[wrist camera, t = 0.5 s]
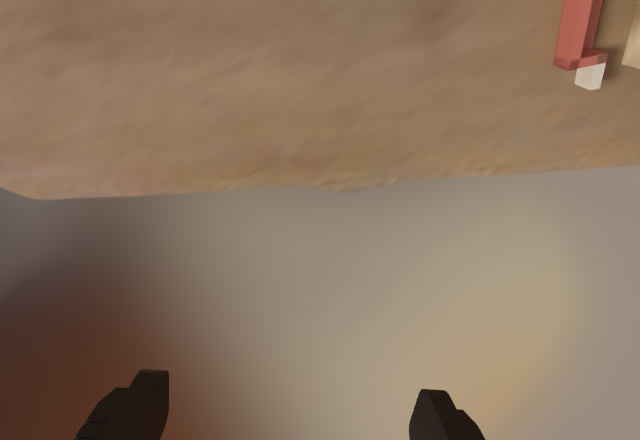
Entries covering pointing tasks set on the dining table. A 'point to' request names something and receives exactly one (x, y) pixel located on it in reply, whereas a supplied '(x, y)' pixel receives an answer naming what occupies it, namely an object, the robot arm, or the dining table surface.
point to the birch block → (633, 42)
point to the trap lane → (581, 42)
